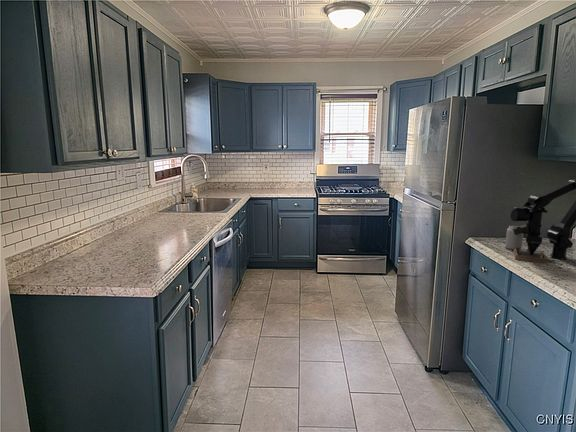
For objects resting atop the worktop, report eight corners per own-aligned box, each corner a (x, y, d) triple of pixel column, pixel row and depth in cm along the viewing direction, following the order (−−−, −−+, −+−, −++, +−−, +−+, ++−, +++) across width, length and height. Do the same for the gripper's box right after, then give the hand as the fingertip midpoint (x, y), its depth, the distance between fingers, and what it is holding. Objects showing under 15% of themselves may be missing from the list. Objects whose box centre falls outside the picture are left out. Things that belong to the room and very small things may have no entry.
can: (524, 250, 193) (527, 228, 191) (510, 250, 193) (513, 228, 191) (515, 246, 201) (518, 225, 198) (501, 246, 201) (504, 225, 198)
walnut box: (513, 251, 192) (514, 247, 191) (542, 255, 186) (543, 251, 185) (515, 259, 179) (515, 255, 179) (546, 263, 173) (547, 259, 173)
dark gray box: (518, 255, 187) (519, 248, 186) (540, 258, 182) (541, 251, 181) (518, 257, 183) (519, 250, 182) (540, 260, 178) (541, 253, 177)
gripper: (513, 216, 191) (510, 245, 194) (516, 223, 175) (512, 254, 178) (539, 218, 185) (535, 248, 189) (544, 225, 169) (539, 258, 172)
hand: (530, 252), depth 182 cm, fingers open, 9 cm apart
